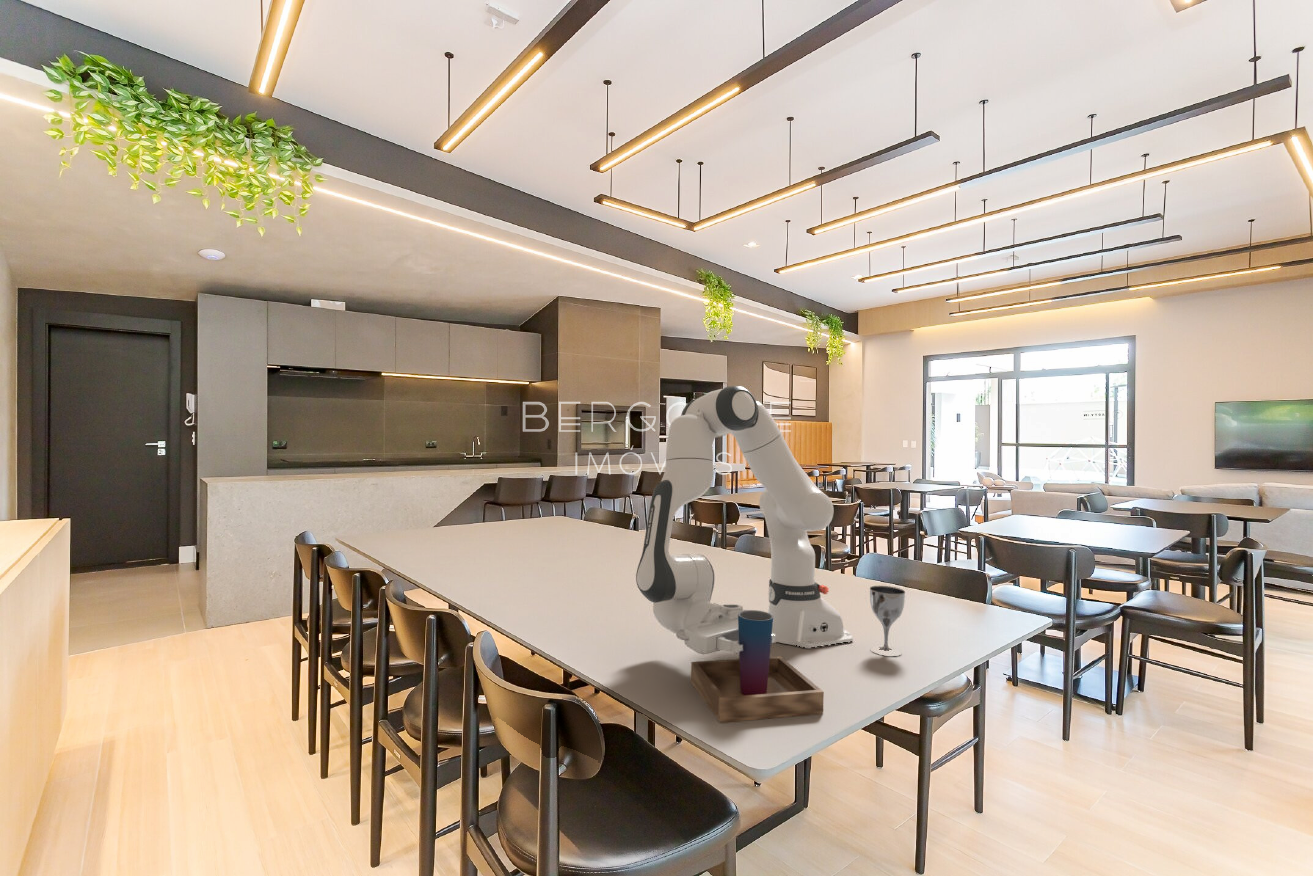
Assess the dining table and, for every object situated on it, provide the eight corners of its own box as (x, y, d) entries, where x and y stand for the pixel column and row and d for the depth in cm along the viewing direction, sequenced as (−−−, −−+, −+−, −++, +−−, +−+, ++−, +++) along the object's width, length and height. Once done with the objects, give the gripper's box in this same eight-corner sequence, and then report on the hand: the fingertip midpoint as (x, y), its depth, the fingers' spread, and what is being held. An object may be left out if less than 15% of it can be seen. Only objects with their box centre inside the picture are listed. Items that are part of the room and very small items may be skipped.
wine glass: (862, 646, 144) (864, 585, 144) (893, 645, 145) (894, 585, 145) (877, 657, 136) (879, 593, 136) (910, 657, 137) (911, 594, 137)
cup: (770, 702, 109) (772, 621, 109) (734, 697, 110) (736, 618, 110) (771, 687, 115) (773, 611, 115) (737, 683, 117) (739, 608, 117)
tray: (780, 675, 124) (780, 656, 124) (823, 713, 107) (823, 691, 107) (690, 681, 120) (691, 661, 120) (720, 722, 102) (720, 700, 102)
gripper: (671, 618, 117) (719, 637, 106) (743, 603, 130) (792, 619, 119) (671, 649, 117) (718, 671, 106) (742, 631, 130) (791, 650, 119)
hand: (757, 643), depth 112 cm, fingers open, 8 cm apart
